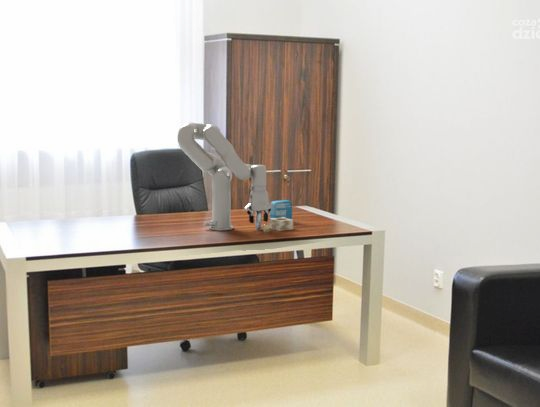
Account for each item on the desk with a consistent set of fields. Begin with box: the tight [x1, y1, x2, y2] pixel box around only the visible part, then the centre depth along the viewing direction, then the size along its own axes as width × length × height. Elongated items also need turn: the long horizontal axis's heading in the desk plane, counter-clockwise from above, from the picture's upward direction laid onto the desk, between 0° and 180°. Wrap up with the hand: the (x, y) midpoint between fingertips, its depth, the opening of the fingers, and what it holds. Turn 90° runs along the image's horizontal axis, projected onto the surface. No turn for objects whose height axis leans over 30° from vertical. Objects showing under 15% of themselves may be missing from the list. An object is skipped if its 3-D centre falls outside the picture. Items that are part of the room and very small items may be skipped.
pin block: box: [269, 217, 294, 232], centre depth 378 cm, size 9×9×5 cm
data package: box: [269, 199, 293, 220], centre depth 395 cm, size 12×4×12 cm, turn 126°
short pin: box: [262, 223, 271, 234], centre depth 369 cm, size 3×3×4 cm
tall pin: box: [255, 211, 263, 231], centre depth 375 cm, size 3×3×10 cm
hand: (258, 221), depth 375 cm, fingers open, 7 cm apart
